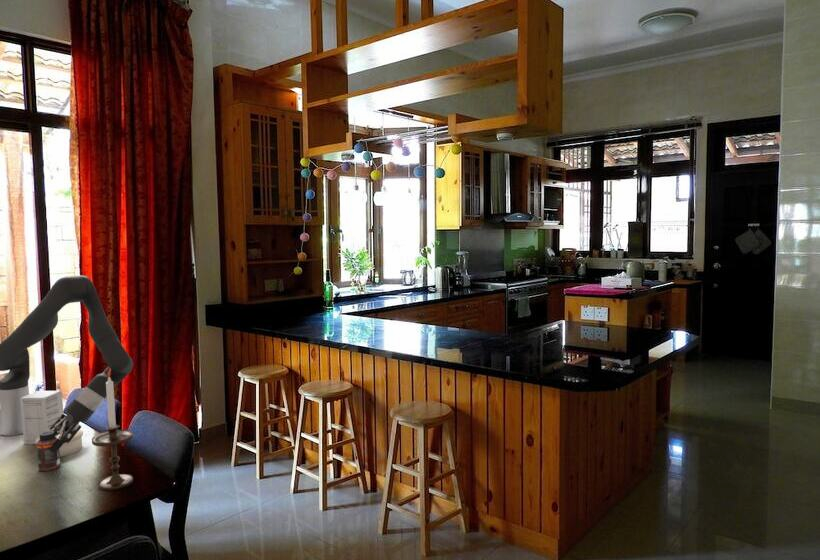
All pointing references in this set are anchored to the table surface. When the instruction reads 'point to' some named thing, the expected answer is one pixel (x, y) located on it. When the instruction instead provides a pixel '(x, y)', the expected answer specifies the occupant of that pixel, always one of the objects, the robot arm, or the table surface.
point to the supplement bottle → (47, 452)
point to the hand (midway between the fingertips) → (47, 448)
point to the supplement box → (40, 413)
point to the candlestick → (113, 444)
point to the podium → (69, 444)
